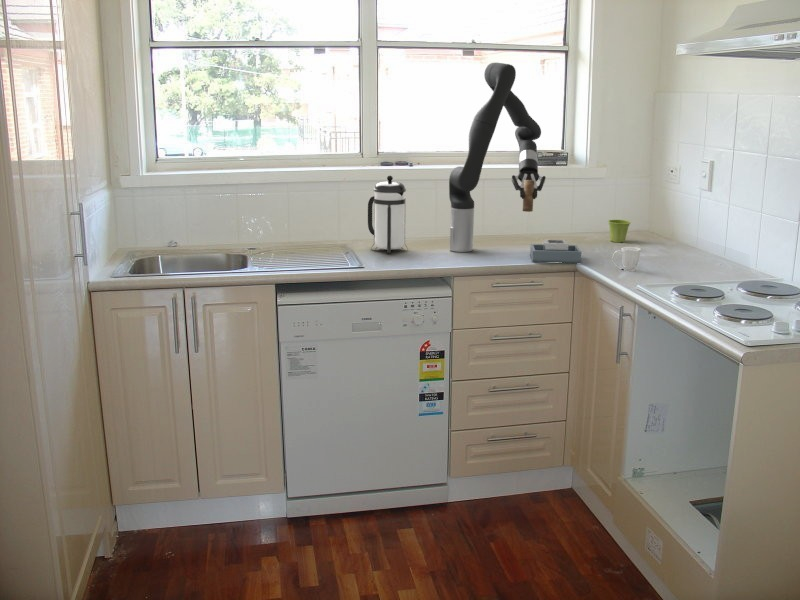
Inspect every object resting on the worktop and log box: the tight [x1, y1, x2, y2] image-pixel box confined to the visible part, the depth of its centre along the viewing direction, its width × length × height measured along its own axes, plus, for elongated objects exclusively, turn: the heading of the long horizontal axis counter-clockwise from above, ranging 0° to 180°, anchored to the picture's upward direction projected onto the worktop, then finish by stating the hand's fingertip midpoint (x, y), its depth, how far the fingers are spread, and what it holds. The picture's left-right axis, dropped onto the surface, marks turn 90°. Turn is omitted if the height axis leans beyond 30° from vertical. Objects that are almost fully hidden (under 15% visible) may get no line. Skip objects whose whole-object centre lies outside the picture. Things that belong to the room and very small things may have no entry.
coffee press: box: [367, 175, 409, 255], centre depth 316 cm, size 17×16×30 cm
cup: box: [611, 246, 642, 272], centre depth 288 cm, size 7×10×8 cm
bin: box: [529, 243, 582, 265], centre depth 305 cm, size 18×13×4 cm
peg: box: [522, 180, 534, 213], centre depth 315 cm, size 4×4×12 cm
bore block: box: [542, 238, 569, 251], centre depth 304 cm, size 9×9×6 cm
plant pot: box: [607, 219, 632, 243], centre depth 341 cm, size 9×9×9 cm
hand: (528, 197), depth 313 cm, fingers closed on peg, 4 cm apart
